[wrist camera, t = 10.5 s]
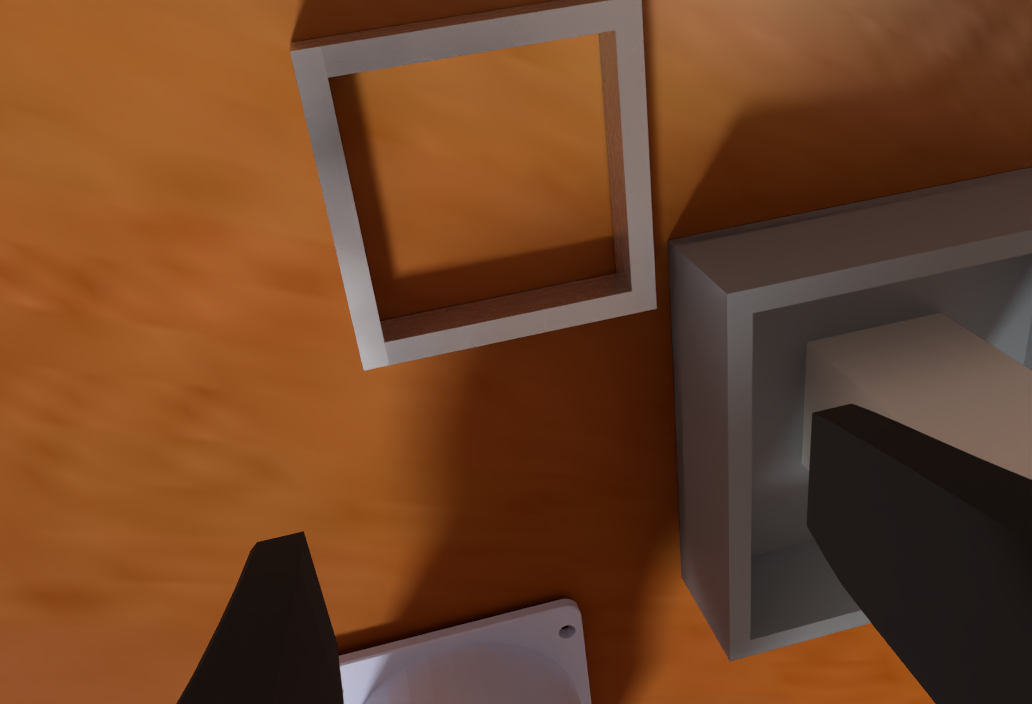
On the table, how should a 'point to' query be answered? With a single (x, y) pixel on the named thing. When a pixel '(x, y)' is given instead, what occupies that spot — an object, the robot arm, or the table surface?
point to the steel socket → (632, 289)
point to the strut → (927, 386)
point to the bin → (782, 366)
